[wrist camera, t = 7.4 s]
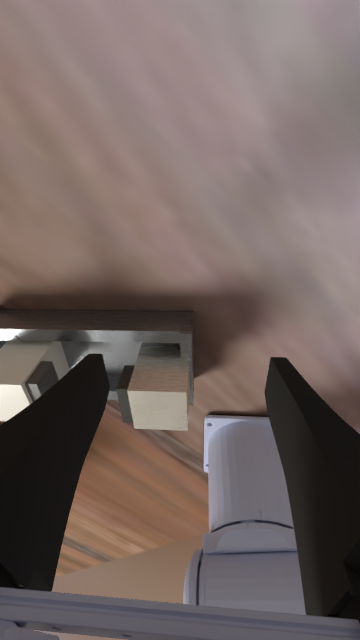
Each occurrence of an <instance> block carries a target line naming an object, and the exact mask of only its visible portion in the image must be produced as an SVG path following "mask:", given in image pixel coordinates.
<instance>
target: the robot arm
mask: <svg viewBox="0 0 360 640" xmlns="http://www.w3.org/2000/svg"><path fill="white" fill-rule="evenodd" d="M109 390H110V385H109V380H108V376H107V372H106V368H105V363H104V359H103V355H102V354H88V355H86V356H85V357H84V358H83V359H82V360H81V361H80V362H79V363H78V364H77V365H76V366H74V367H73V368H72V369H71V370H70V371H69V372H68V373H67V374H66V375H65V376H63V377H62V378H61V379H60V380H59V381H58V382H57V383H56V384H54V385H53V386H52V387H51V388H50V389H48V390H47V391H46V392H45V393H44V394H42V395H41V396H40V397H39V398H37V399H36V400H35V401H34V402H33V403H31V404H30V405H29V406H27V407H26V408H25V409H23V410H22V411H20V412H19V413H18V414H16V415H15V416H13V417H12V418H10V419H9V420H8V421H6V422H5V423H3V424H1V425H0V640H59V638H58V636H56V635H51V634H47V633H43V632H39V631H34V630H41V631H51V632H60V633H70V634H80V635H89V636H99V637H109V638H119V639H128V640H360V434H359V433H358V432H356V431H355V430H354V429H353V428H352V427H351V426H349V425H348V424H347V423H346V422H345V421H344V420H343V419H342V418H341V417H340V416H338V415H337V414H336V413H335V412H334V411H333V410H332V409H331V408H330V407H329V406H328V405H327V404H326V403H325V401H324V400H323V399H322V398H321V397H320V396H319V395H318V394H317V393H316V392H315V391H314V390H313V389H312V387H311V386H310V385H309V384H308V383H307V382H306V381H305V379H304V378H303V377H302V376H301V375H300V374H299V372H298V371H297V370H296V369H295V368H294V366H293V365H292V364H291V363H290V362H289V360H288V359H287V358H283V357H271V359H270V365H269V371H268V376H267V382H266V387H265V398H266V405H267V411H268V416H269V417H251V416H224V415H207V416H206V417H205V426H204V471H205V472H207V473H208V476H209V533H206V534H203V549H197V550H196V551H195V552H194V554H193V556H192V558H191V560H190V561H189V564H188V566H187V570H186V575H185V582H184V596H183V599H184V600H183V604H179V603H168V602H157V601H145V600H136V599H135V600H134V599H125V598H114V597H102V596H91V595H81V594H70V593H58V592H51V591H52V587H53V582H54V578H55V573H56V568H57V564H58V559H59V554H60V550H61V545H62V541H63V537H64V533H65V529H66V525H67V521H68V516H69V513H70V509H71V505H72V501H73V498H74V494H75V490H76V487H77V483H78V480H79V476H80V473H81V469H82V466H83V463H84V461H85V458H86V455H87V453H88V450H89V448H90V445H91V443H92V440H93V438H94V435H95V433H96V430H97V428H98V425H99V422H100V420H101V417H102V415H103V412H104V409H105V406H106V402H107V398H108V394H109ZM30 629H31V630H30Z"/></svg>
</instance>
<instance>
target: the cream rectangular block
mask: <svg viewBox="0 0 360 640" xmlns="http://www.w3.org/2000/svg"><path fill="white" fill-rule="evenodd" d="M68 371H69V366H68V363H67V360H66V357H65V353H64V350H63V347H62V344H61V341H20V340H8V341H7V342H6V343H5V344H4V345H3V346H2V348H1V349H0V421H8V420H9V419H10V418H12V417H13V416H15V415H16V414H18V413H19V412H20V411H22V410H23V409H25V408H26V407H27V406H29V405H30V404H31V403H33V402H34V401H35V400H36V399H37V398H39V397H40V396H41V395H42V394H44V393H45V392H46V391H47V390H48V389H50V388H51V387H52V386H53V385H54V384H56V383H57V382H58V381H59V380H60V379H61V378H62V377H63V376H65V375H66V374H67V373H68Z"/></svg>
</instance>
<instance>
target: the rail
mask: <svg viewBox="0 0 360 640" xmlns="http://www.w3.org/2000/svg"><path fill="white" fill-rule="evenodd" d="M8 340H20V341H61V344H62V347H63V350H64V353H65V357H66V360H67V363H68V366H69V371H70V370H71V369H72V368H73V367H74V366H76V365H77V364H78V363H79V362H80V361H81V360H82V359H83V358H84V357H85V356H86V355H88V354H102V355H103V359H104V363H105V368H106V372H107V376H108V380H109V385H110V390H109V394H108V398H107V400H119V404H120V409H121V414H122V418H123V422H129V423H133V424H134V428H137V429H160V430H184V431H188V416H189V405H193V391H194V331H193V311H93V310H0V349H1V348H2V346H3V345H4V344H5V343H6V342H7V341H8ZM69 371H68V372H69Z"/></svg>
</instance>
